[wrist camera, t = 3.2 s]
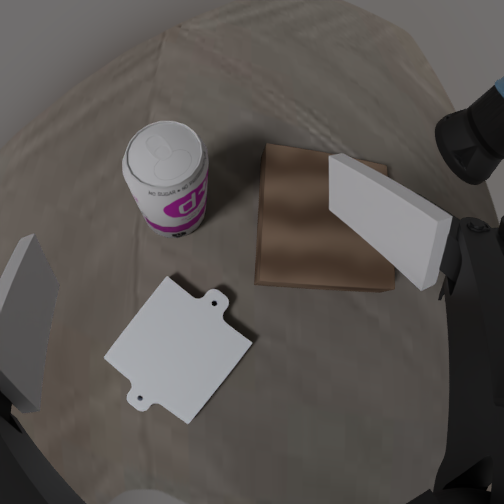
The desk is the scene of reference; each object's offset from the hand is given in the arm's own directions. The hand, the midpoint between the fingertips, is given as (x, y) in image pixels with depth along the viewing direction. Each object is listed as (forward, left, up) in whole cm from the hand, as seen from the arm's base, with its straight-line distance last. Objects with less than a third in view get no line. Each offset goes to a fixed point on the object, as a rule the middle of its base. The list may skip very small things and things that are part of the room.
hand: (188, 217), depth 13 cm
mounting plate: (+8, -2, -28) cm, 30 cm away
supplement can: (-10, -4, -28) cm, 30 cm away
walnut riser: (-10, +16, -28) cm, 34 cm away
